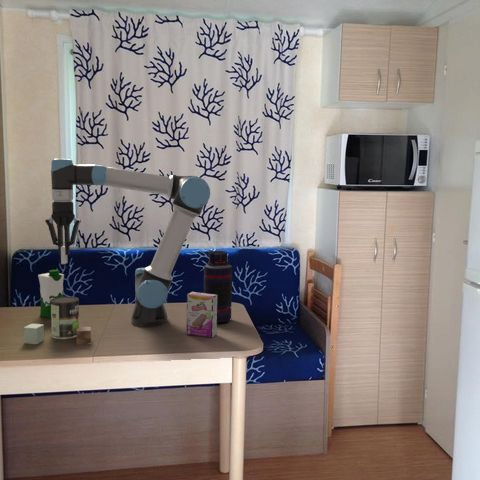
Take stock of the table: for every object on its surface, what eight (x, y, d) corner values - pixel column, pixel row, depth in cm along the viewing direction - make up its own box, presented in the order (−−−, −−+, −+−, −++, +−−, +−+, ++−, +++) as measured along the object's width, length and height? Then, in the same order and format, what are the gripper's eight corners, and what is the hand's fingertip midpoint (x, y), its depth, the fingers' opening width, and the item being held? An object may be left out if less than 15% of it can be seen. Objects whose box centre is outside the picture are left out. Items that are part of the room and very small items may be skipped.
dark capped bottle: (235, 323, 230) (237, 253, 225) (209, 326, 224) (211, 254, 220) (222, 314, 242) (223, 248, 237) (197, 317, 237) (198, 249, 232)
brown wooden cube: (90, 339, 205) (90, 326, 204) (90, 343, 200) (90, 330, 200) (77, 340, 204) (76, 327, 203) (76, 344, 199) (76, 331, 198)
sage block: (44, 340, 203) (43, 324, 202) (37, 344, 198) (36, 328, 197) (31, 339, 204) (31, 323, 203) (24, 343, 199) (23, 327, 198)
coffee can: (84, 332, 213) (83, 297, 211) (71, 340, 203) (70, 303, 201) (60, 330, 215) (59, 295, 213) (46, 338, 205) (45, 301, 203)
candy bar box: (185, 335, 213) (186, 294, 210) (191, 331, 217) (191, 291, 215) (212, 338, 209) (213, 297, 207) (217, 334, 214) (217, 294, 211)
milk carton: (49, 319, 228) (48, 272, 226) (36, 315, 234) (35, 269, 231) (67, 315, 236) (66, 269, 233) (54, 311, 241) (53, 266, 238)
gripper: (41, 201, 198) (43, 264, 201) (77, 202, 198) (78, 265, 201) (48, 199, 205) (50, 261, 209) (83, 200, 205) (84, 261, 209)
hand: (64, 263), depth 205 cm, fingers closed
